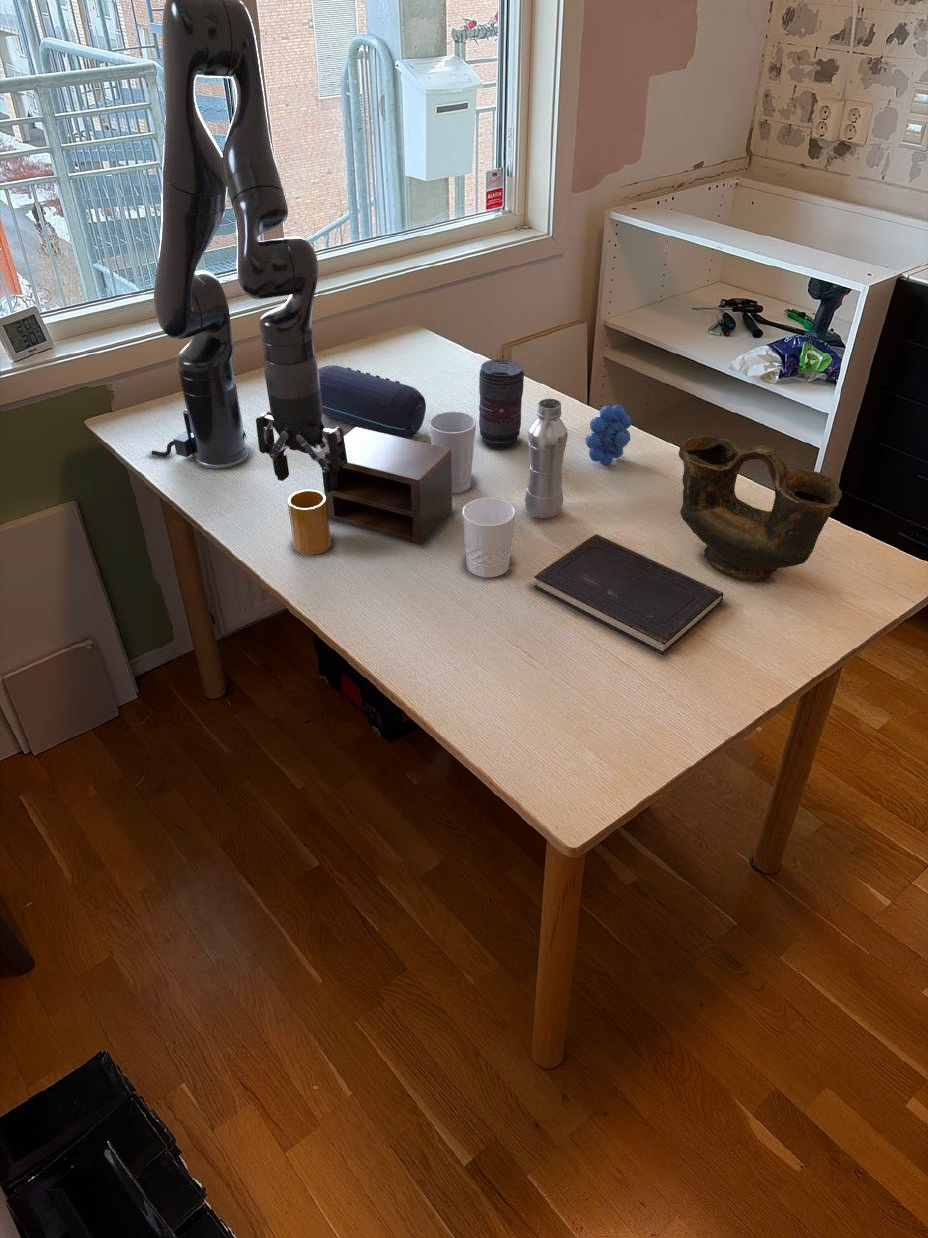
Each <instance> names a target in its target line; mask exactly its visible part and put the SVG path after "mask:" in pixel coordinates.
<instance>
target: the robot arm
mask: <svg viewBox="0 0 928 1238" xmlns="http://www.w3.org/2000/svg"><path fill="white" fill-rule="evenodd" d="M161 22H162V24H161V26H162V27H161V35H162V38H161V39H162V63H163V64H162V65H163V83H164V84H163V85H164V86H163V87H164V135H163V136H164V137H163V138H164V139H163V158H162V169H161V171H162V172H161V173H162V175H161V179H162V180H161V225H160V243H159V250H158V251H159V252H158V259H157V266H156V274H155V280H154V281H155V282H154V287H153V308H154V313H155V316H156V320H157V323H158V326H159V327H160V328H161V330H162V331H163V332H164V334H166V335H167V336H168V337H170V338H172V339H174V340H183V339H188V338H191V339H190V340H189V342H187V344H186V345H185V346H184V347H183V348H182V349H181V350H180V351H179V353H178V354H177V356H176V365H177V370H178V375H179V376H178V377H179V380H180V385H181V390H182V395H183V399H184V403H185V408H186V409H184V410H183V412H182V414H183V421H184V425H185V431H184V432H182V433H180V434H179V435H177V436H175V437H174V438H173V439H172V440H171V441H170V442H168V443H167V445H166V450H165V451H163V452H162V451H158V450H151V455H152V456H157V457H168V456H170V454H171V453H172V447H174V449H175V453H176V455H177V456H180V457H185V458H190V456H191V458H192V460H195V461H196V462H197V464H198V465H199V466H201V467H204V468H207V469H213V470H221V469H229V468H232V467H235V466H237V465H240V464H241V463H243V462H244V461H246V459H247V458H248V456H249V451H248V447H247V443H246V441H247V440H248V438H247V433H246V432H245V430H244V425H243V424H244V423H243V419H242V412H241V406H240V401H239V395H238V389H237V383H236V378H235V372H234V366H233V365H234V364H233V356H234V341H233V332H232V325H231V316H230V308H229V302H228V298H227V294H226V292H225V289H224V287H223V286H222V284H221V282H220V280H219V279H218V278H217V277H216V276H215V275H214V274H213V273H211V272H209V271H206V270H198V271H197V268H198V265H199V263H200V261H201V259H202V257H203V256H204V254H205V252H206V250H207V248H208V247H209V245H210V244H211V243H212V241H213V239H214V237H215V236H216V234H217V232H218V230H219V228H220V226H221V224H222V221H223V219H224V216H225V211H226V205H227V195H228V196H229V199H230V203H231V207H232V210H233V214H234V219H235V227H236V237H237V238H236V239H237V241H236V242H237V246H236V247H237V249H236V251H237V252H236V275H237V280H238V283H239V285H240V287H241V289H242V290H243V292H244V293H245V294H246V295H247V296H249V297H250V298H252V299H254V300H268V299H272V298H278V297H286V296H289V297H288V298H287V300H286V302H284V304H282V305H281V306H278V307H276V308H274V309H272V310H270V311H267V312H266V313H264V314H263V315H262V316H261V317H260V320H259V335H260V339H261V340H260V341H261V346H262V352H263V353H262V354H263V359H264V360H263V362H264V363H263V364H264V377H265V378H264V379H265V384H266V392H267V397H268V406H269V411H268V410H267V411H265V412H263V413H262V414H260V415H259V416H258V417H256V418H255V425H256V435H257V444H258V450H259V452H260V453H261V454H267V455H268V456H269V457H270V459H271V460H272V465H273V472H274V475H275V476H276V479H277V481H280V482H284V481H285V480H286V479H287V478H289V477H290V470H289V461H288V455H287V454H285V452H286V451H287V449H289V450H290V451H299V452H300V453H303V454H307V455H309V457H310V458H311V460H312V461H314V462H316V463H317V464H318V465H319V467H320V468H321V473H322V484H323V491H325V492H329V493H330V492H331V491H332V490H333V489H334V488H335V487H336V486H337V484H338V480H337V471H338V470H339V469H340V468H341V467H343V466H344V465H345V464H346V463H347V455H346V448H345V442H344V436H345V435H344V430H343V428H342V427H340V426H336V427H335V428H334V429H333V428H326V427H325V425H324V423H323V407H322V398H321V390H320V382H319V373H318V369H319V367H318V362H317V359H316V354H315V345H314V337H313V329H312V322H313V321H312V320H313V319H312V318H313V310H314V309H313V308H314V301H315V296H316V289H317V284H318V276H319V260H318V257H317V252H316V251H315V249H314V248H313V246H312V245H311V243H310V242H309V241H308V240H307V239H305V238H304V237H301V236H290V237H283V238H276V239H269V240H260V241H259V240H258V238H259V236H261V235H262V234H264V233H266V232H269V231H271V230H274V229H276V228H278V227H280V226H281V225H283V224H284V223H285V222H286V220H287V219H288V216H289V208H288V203H287V202H288V201H287V199H286V196H285V192H284V188H283V184H282V180H281V177H280V174H279V171H278V167H277V166H278V165H277V164H276V163H277V162H276V160H275V159H276V158H275V155H274V151H273V147H272V143H271V142H272V141H271V137H270V131H269V122H268V116H267V115H268V114H267V108H266V100H265V92H264V84H263V78H262V77H263V76H262V72H261V64H260V58H259V51H258V45H257V39H256V33H255V30H254V25H253V23H252V19H251V16H250V14H249V11H248V9H247V7H246V6H245V4H244V3H243V2H242V1H241V0H165V3H164V6H163V11H162V21H161ZM197 77H201V78H225V79H231V80H232V82H233V85H234V90H235V95H236V101H235V102H236V105H235V109H234V113H233V117H232V120H231V123H230V126H229V128H228V132H227V135H226V138H225V141H224V144H223V149H222V152H221V149H220V148H219V146H218V145H217V143H216V141H215V139H214V137H213V136H212V134H211V132H210V131H209V129H208V128H207V126H206V124H205V121H204V120H203V117H202V115H201V113H200V111H199V108H198V105H197V102H196V95H195V93H196V92H195V82H196V80H197ZM227 192H228V193H227ZM274 430H275V432H276V433H277V435H278V438H277V440H276V441H275V433H274ZM318 446H319V448H320V449H319V450H318V451H317V447H318ZM323 455H324V456H325V458H326V459H327V461H328V462H327V461H326V460H325V458H324V457H323ZM322 469H323V471H322Z"/></svg>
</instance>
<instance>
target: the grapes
mask: <svg viewBox="0 0 928 1238" xmlns="http://www.w3.org/2000/svg"><path fill="white" fill-rule="evenodd" d="M631 426H632V418H631V416H630V415H629V414H628V413H626V409H625V408H624V406H623V405H622V404H620V403H619V404H617V403H616V404H614V405H613V406H612V405H604V406H602V407H601V408H600V410H599V416H595V417H593V418H592V419H591V420H590V422H589V428H590V430H591V433H589V434H587V435H586V437H585V444H586V446H587V448H588V449H589V451H588V455H589V458H590V460H591V461H592V462H595V463H596V462H597V463H600V464H601V465H602V466H607V465H610V464H611V463H612V462H613V461H614V459H619V458H620V457H622V456H623V455H624V448H625V447H626V446H627V445H628V444H629V442H631V433H630V432H629V430H628V429H629V428H630V427H631Z"/></svg>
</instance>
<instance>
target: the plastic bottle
mask: <svg viewBox="0 0 928 1238" xmlns="http://www.w3.org/2000/svg"><path fill="white" fill-rule="evenodd" d="M536 415H537V417H536V419H535V420H534V421H533V422H532V424H531V425H530V427H529V429H528V432H527V442H528V452H529V474H528V481H527V486H526V490H525V496H524V505H525V509H526V511H527V512H528V513H529V514H530V515H531V516H532V517H535V518H538V519H549V518H553V517H555V516H557V515H558V514H559V513H560V511H561V510H562V508H563V504H564V492H563V491H564V490H563V477H562V476H563V474H562V469H563V464H564V457H565V456H564V455H565V451H566V447H567V442H568V435H569V434H568V430H567V427H566V425H565V424H564V422H563V421H562V419H561V416H562V401H560V400H558V399H556V398H544V399H541V400H539V401H538V404H537V410H536Z"/></svg>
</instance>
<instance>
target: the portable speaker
mask: <svg viewBox="0 0 928 1238" xmlns="http://www.w3.org/2000/svg"><path fill="white" fill-rule="evenodd" d="M318 373H319V382H320V390H321V398H322V407H323V414H322V416H325V417H328V418H331V419H335V420H338V421H341V422H345V423H348V424H351V425H354V426H356V427H359V428H363V429H367V430H371V431H376V432H380V433H384V434H389V435H393V436H397V437H401V438H406V439H412V438H414V437H415V436H417V434H418V432H419V430H420V429H421V428H422V425H423V422H424V420H425V416H426V410H427V408H426V407H427V403H426V399H425V396H424V395H423V394H422V393H421V392H420V391H419V390H418V389H417V388H416V387H414V386H411V385H408V384H404V383H401V382H400V381H398V380H395V381H394V380H390V378H388V377H386V378H383V377H381V376H380V375H377V374H376V375H371V373H370V372H365V373H364V372H362V371H361V370H359V369H356V370H355V369H354V370H353V369H352V368H351V367H349V366H347V367H344V366H340V365H337V364H335V365H333V364H332V365H325V366H322V367H318Z"/></svg>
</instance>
